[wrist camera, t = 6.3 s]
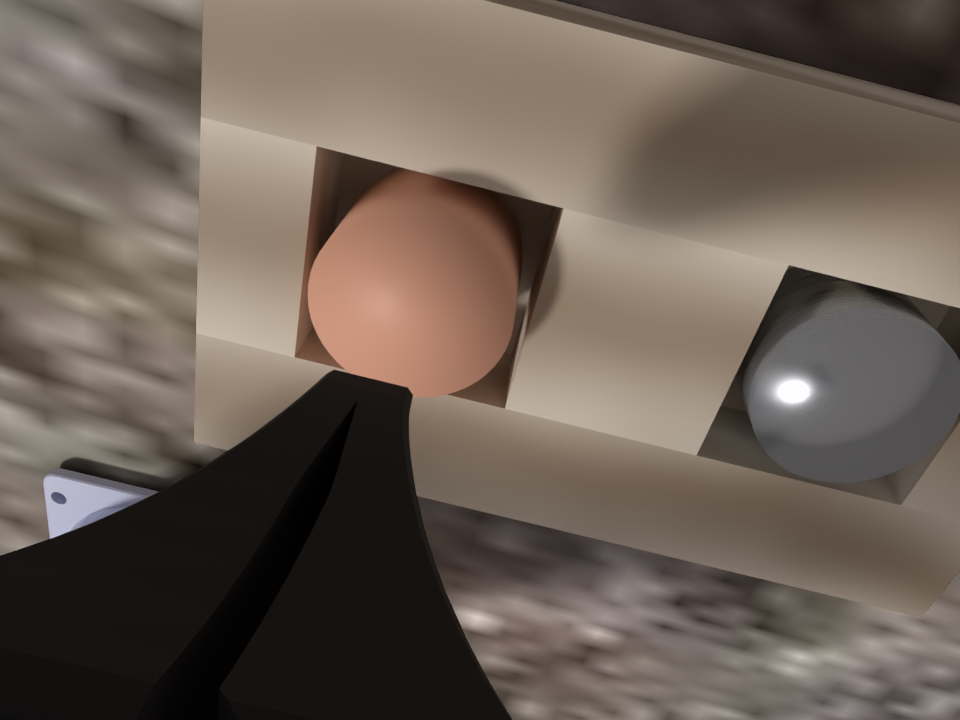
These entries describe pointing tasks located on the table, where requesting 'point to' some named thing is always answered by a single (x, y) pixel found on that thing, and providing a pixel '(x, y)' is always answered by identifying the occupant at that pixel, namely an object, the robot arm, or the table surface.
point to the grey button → (847, 380)
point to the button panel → (588, 263)
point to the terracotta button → (419, 283)
